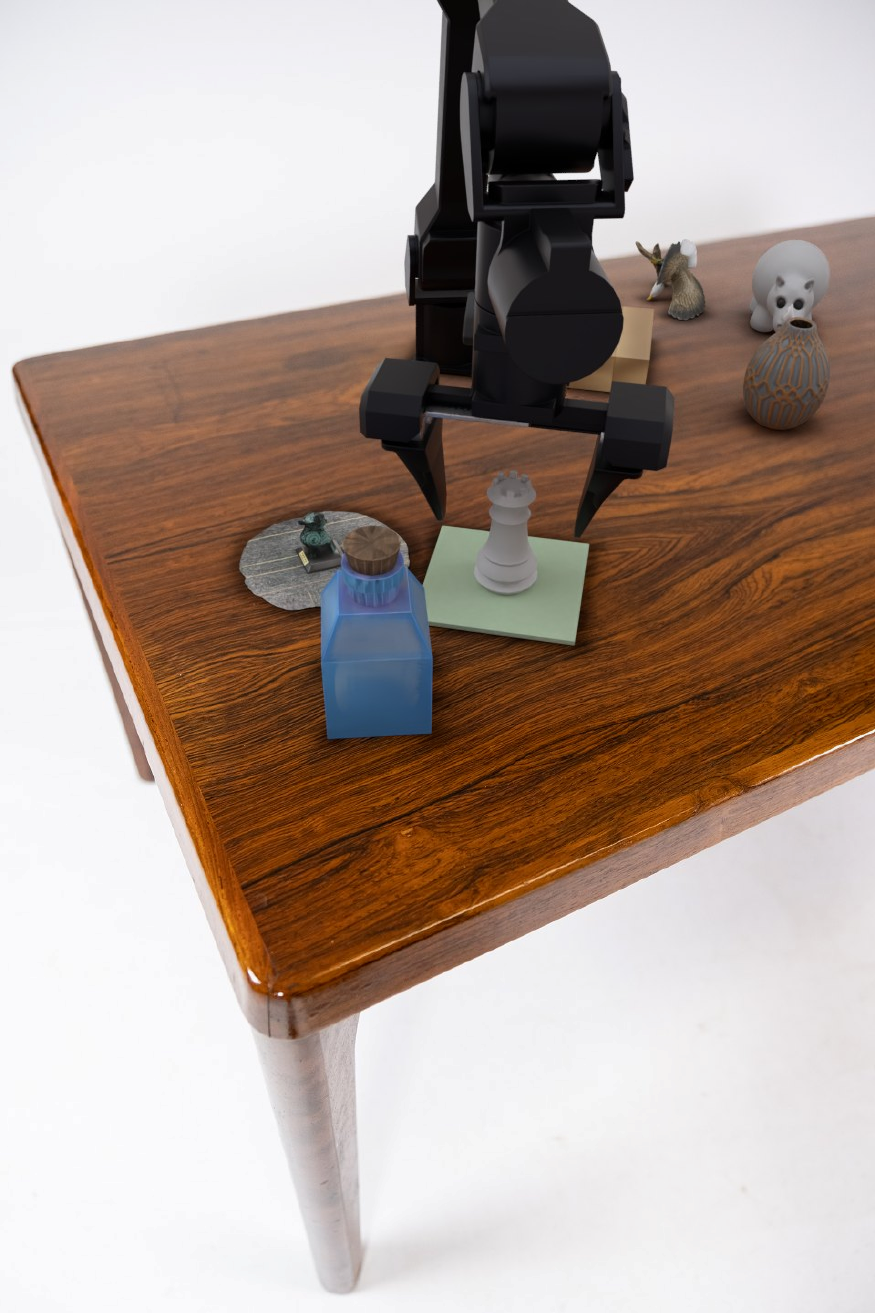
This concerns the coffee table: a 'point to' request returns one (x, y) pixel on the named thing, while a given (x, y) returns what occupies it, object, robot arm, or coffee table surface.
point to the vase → (787, 376)
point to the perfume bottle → (375, 642)
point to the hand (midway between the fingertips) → (508, 525)
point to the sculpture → (301, 557)
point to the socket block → (625, 354)
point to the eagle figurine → (677, 278)
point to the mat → (525, 615)
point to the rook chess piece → (508, 538)
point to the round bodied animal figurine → (787, 284)
